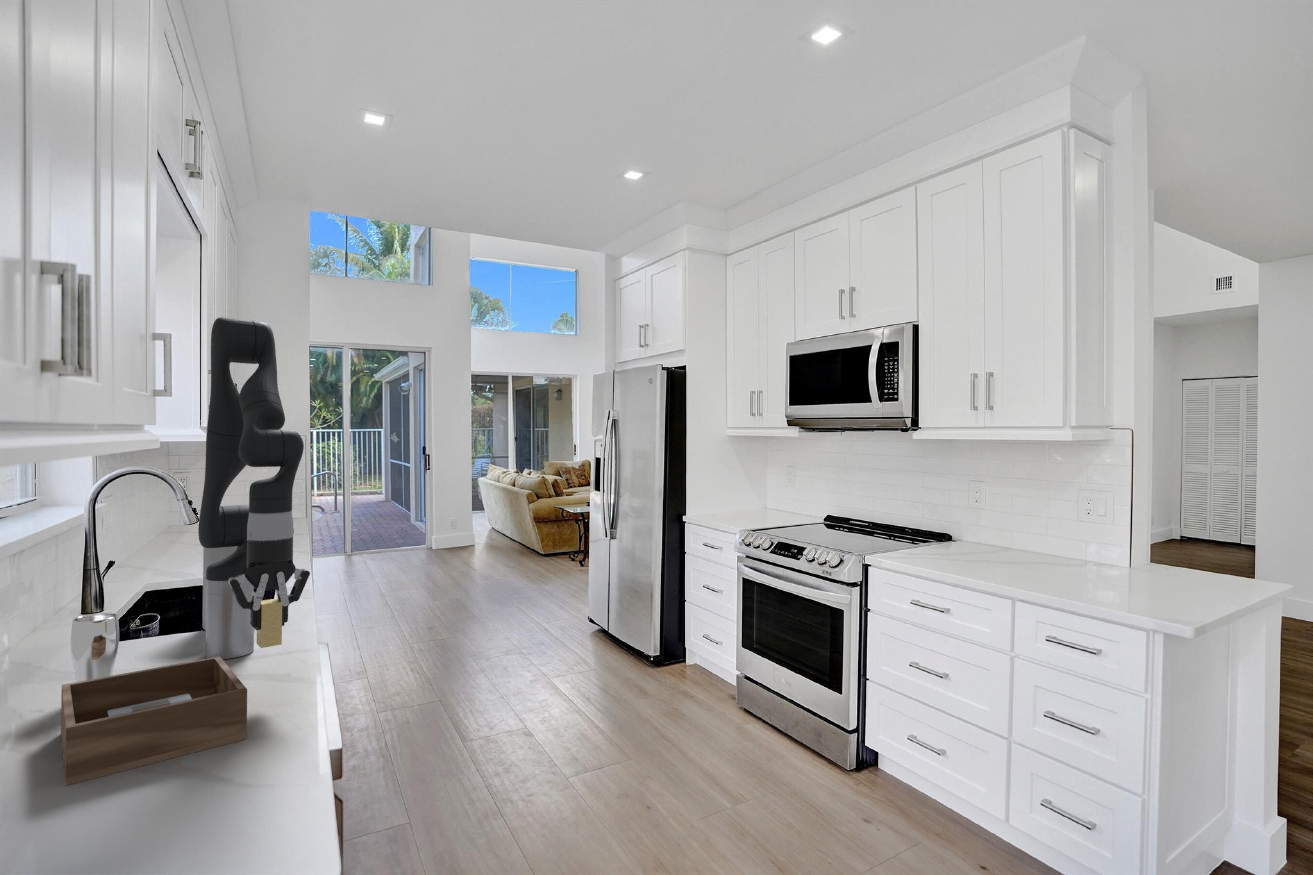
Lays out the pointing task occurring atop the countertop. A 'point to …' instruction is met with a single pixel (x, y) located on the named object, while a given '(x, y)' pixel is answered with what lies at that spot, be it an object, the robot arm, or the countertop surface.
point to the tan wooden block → (270, 623)
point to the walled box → (149, 717)
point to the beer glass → (94, 645)
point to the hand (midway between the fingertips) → (269, 626)
